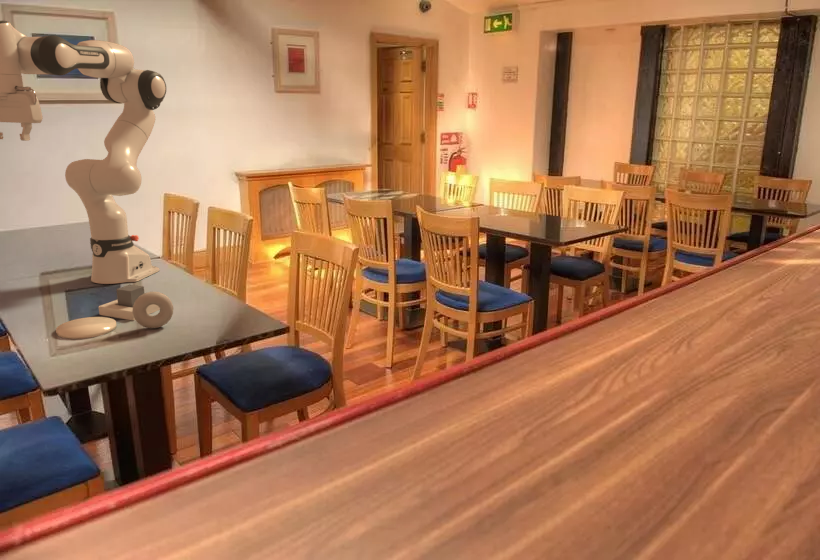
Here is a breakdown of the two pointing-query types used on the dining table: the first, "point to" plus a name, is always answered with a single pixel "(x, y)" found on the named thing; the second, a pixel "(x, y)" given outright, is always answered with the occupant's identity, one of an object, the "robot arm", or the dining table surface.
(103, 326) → the peach ellipsoid
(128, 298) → the block
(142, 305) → the donut
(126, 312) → the pocket collar
